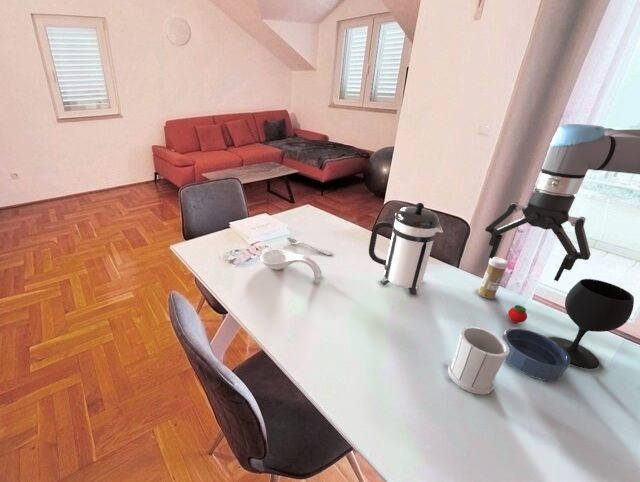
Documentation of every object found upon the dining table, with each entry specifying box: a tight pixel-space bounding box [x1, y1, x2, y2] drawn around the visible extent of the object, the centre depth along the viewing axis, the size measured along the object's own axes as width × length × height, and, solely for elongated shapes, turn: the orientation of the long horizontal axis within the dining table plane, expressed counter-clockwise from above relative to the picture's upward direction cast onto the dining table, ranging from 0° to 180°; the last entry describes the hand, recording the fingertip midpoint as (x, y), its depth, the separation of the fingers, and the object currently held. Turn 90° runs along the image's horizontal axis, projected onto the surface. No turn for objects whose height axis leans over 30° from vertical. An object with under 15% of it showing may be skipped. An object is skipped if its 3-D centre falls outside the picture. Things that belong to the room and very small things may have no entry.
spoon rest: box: [259, 249, 323, 284], centre depth 116 cm, size 24×12×7 cm, turn 55°
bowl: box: [501, 327, 571, 381], centre depth 78 cm, size 12×12×5 cm
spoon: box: [285, 237, 332, 256], centre depth 133 cm, size 4×21×2 cm, turn 54°
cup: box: [447, 326, 509, 395], centre depth 72 cm, size 10×9×12 cm
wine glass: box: [548, 278, 635, 370], centre depth 77 cm, size 10×10×20 cm
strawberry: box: [507, 304, 528, 324], centre depth 91 cm, size 4×4×5 cm
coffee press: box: [368, 202, 444, 296], centre depth 104 cm, size 17×16×30 cm
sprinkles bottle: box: [477, 256, 509, 300], centre depth 101 cm, size 5×5×13 cm
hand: (522, 267), depth 83 cm, fingers open, 13 cm apart
